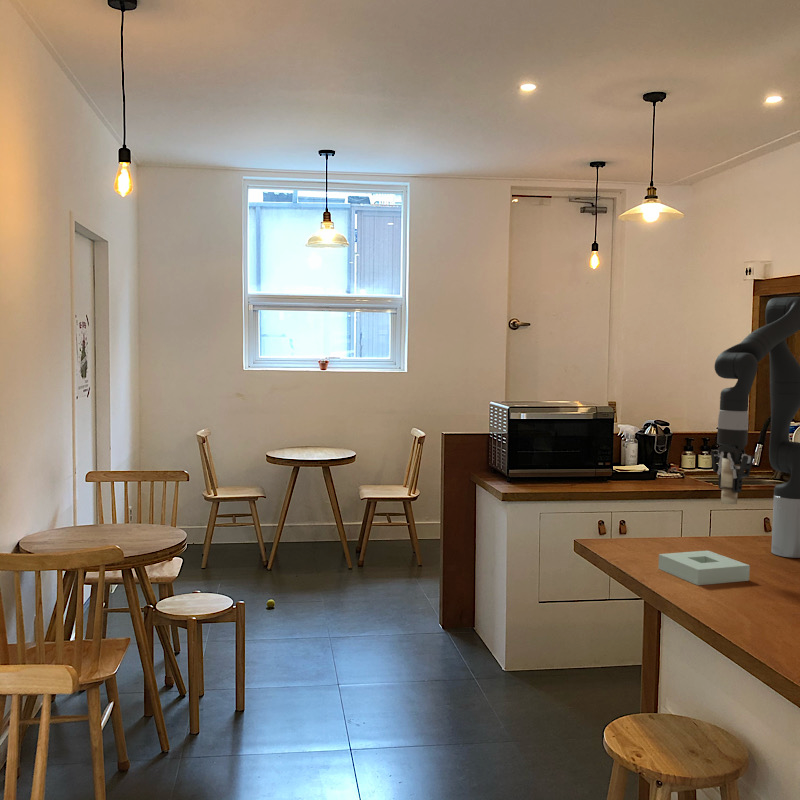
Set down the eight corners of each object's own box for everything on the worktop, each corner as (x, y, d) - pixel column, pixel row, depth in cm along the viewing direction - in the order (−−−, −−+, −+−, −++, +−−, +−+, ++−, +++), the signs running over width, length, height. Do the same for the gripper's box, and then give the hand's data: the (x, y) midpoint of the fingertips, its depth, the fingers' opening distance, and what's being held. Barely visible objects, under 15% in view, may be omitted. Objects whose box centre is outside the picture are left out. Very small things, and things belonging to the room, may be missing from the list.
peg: (730, 501, 221) (732, 457, 220) (742, 504, 216) (744, 459, 215) (715, 501, 219) (718, 457, 218) (727, 504, 215) (730, 459, 214)
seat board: (707, 564, 225) (707, 550, 224) (749, 580, 209) (749, 565, 209) (658, 568, 220) (658, 554, 219) (697, 585, 204) (698, 569, 204)
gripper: (764, 429, 211) (760, 495, 212) (725, 424, 224) (722, 486, 225) (740, 430, 208) (737, 495, 209) (703, 425, 222) (700, 486, 223)
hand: (729, 490), depth 217 cm, fingers closed on peg, 4 cm apart
